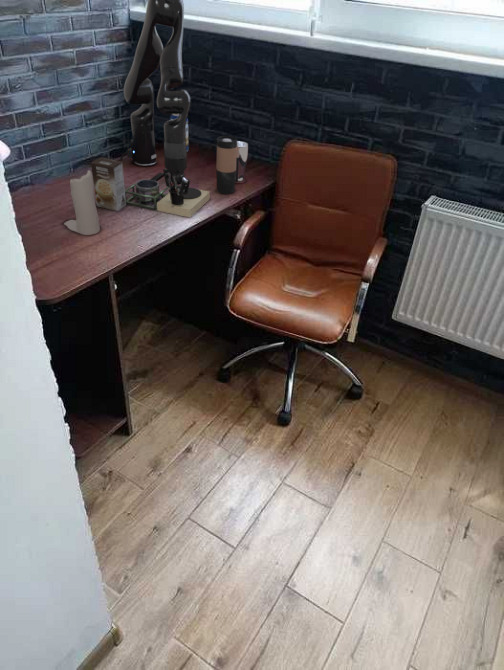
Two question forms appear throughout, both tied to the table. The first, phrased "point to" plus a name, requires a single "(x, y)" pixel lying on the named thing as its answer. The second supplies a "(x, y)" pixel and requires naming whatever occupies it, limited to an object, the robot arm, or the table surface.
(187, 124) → the beverage bottle
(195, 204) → the plate
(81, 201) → the candle
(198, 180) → the table surface
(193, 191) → the burner
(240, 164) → the beer glass
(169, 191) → the dish rack
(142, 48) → the robot arm
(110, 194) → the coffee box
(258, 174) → the table surface
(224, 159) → the travel mug
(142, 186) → the saucepan
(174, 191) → the dial
